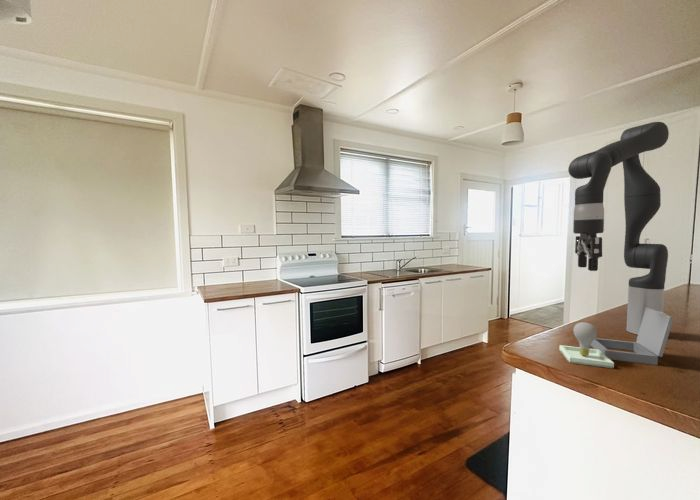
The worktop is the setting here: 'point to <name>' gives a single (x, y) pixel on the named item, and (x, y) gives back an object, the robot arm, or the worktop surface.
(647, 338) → the lid
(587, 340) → the light bulb
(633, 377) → the worktop surface
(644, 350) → the case
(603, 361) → the tray
